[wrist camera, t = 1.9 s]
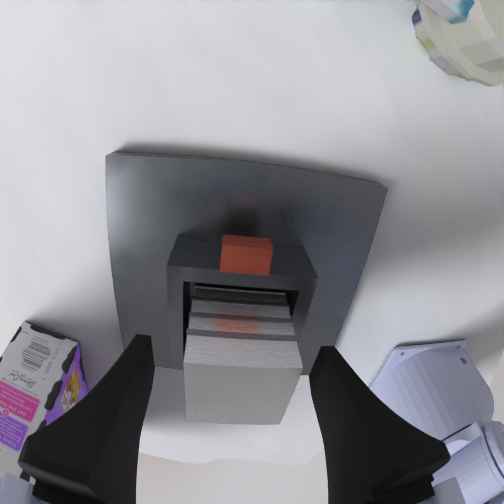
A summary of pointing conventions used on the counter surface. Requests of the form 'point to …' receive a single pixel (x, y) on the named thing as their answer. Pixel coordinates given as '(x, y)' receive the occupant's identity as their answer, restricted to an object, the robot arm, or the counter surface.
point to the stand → (234, 242)
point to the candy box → (35, 389)
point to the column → (239, 355)
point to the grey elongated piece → (464, 37)
